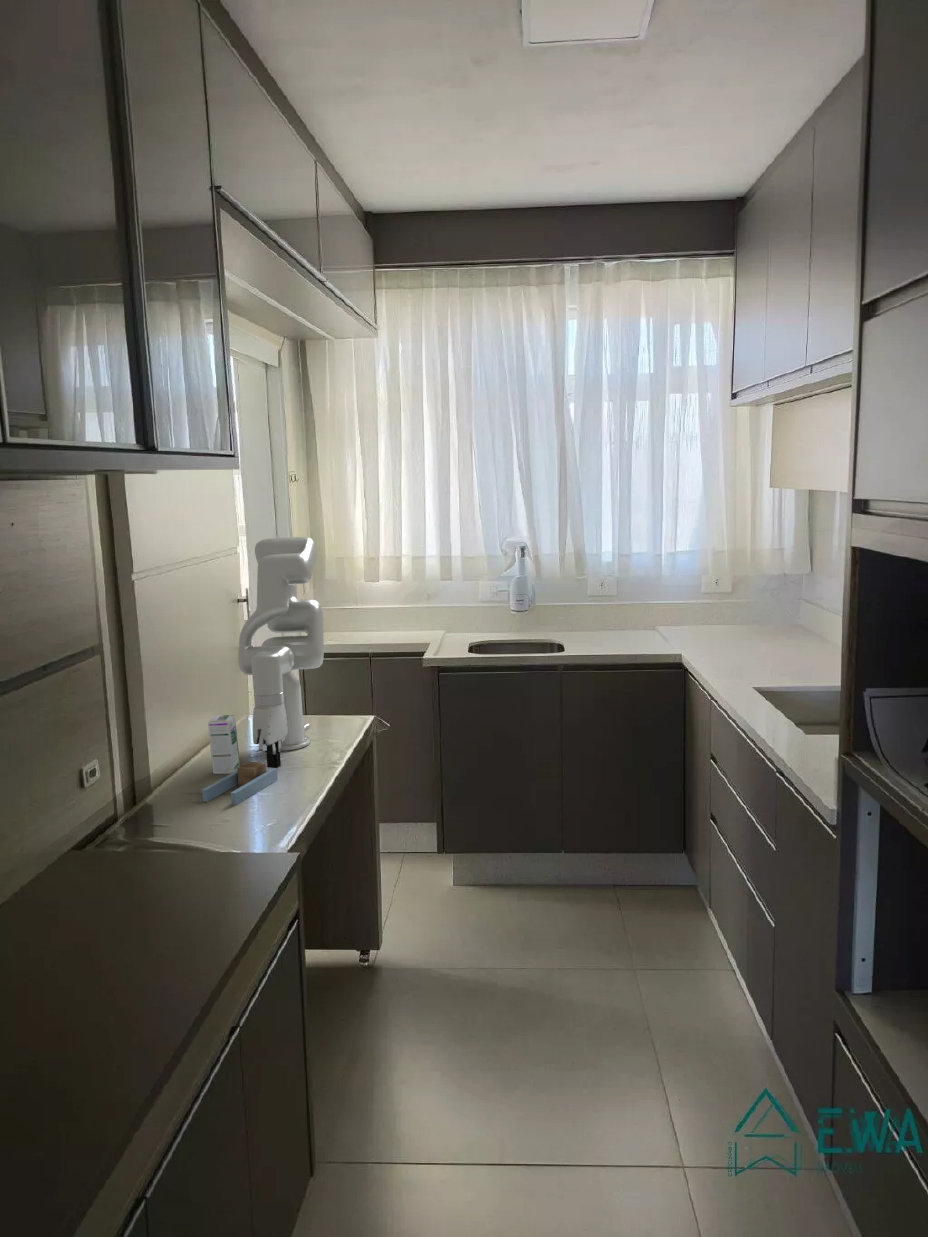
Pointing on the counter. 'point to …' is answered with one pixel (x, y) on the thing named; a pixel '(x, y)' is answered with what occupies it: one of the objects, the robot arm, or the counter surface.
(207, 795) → the channel
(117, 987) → the counter surface
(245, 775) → the walnut block
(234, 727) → the syrup box
